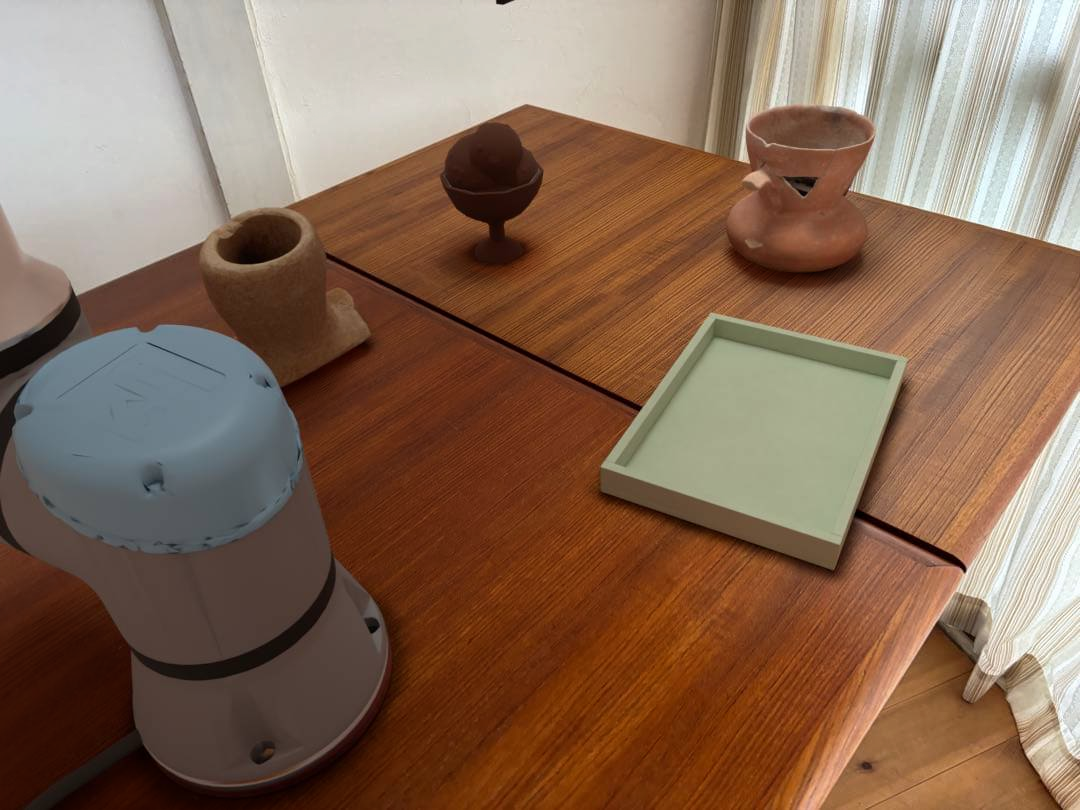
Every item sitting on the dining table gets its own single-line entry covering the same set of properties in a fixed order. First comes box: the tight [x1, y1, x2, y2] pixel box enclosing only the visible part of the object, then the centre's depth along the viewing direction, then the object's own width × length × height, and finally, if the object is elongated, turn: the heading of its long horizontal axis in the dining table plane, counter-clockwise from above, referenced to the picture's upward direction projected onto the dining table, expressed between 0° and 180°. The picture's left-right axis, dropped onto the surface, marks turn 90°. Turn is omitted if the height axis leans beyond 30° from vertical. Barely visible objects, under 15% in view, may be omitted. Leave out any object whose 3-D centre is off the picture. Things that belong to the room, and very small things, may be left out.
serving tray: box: [599, 312, 909, 571], centre depth 68 cm, size 24×18×3 cm
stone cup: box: [198, 206, 372, 389], centre depth 76 cm, size 15×12×15 cm
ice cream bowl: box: [438, 121, 545, 265], centre depth 91 cm, size 11×11×15 cm
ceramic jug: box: [725, 103, 877, 273], centre depth 88 cm, size 18×14×14 cm
